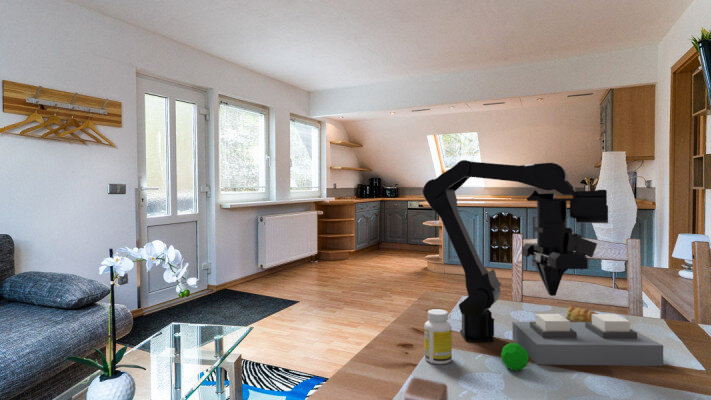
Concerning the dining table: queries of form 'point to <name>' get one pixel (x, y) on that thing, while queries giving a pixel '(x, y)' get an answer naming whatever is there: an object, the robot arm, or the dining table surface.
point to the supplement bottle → (438, 337)
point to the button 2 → (610, 323)
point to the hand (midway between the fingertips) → (552, 295)
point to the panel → (587, 346)
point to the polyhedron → (514, 356)
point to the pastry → (579, 315)
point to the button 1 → (552, 322)
